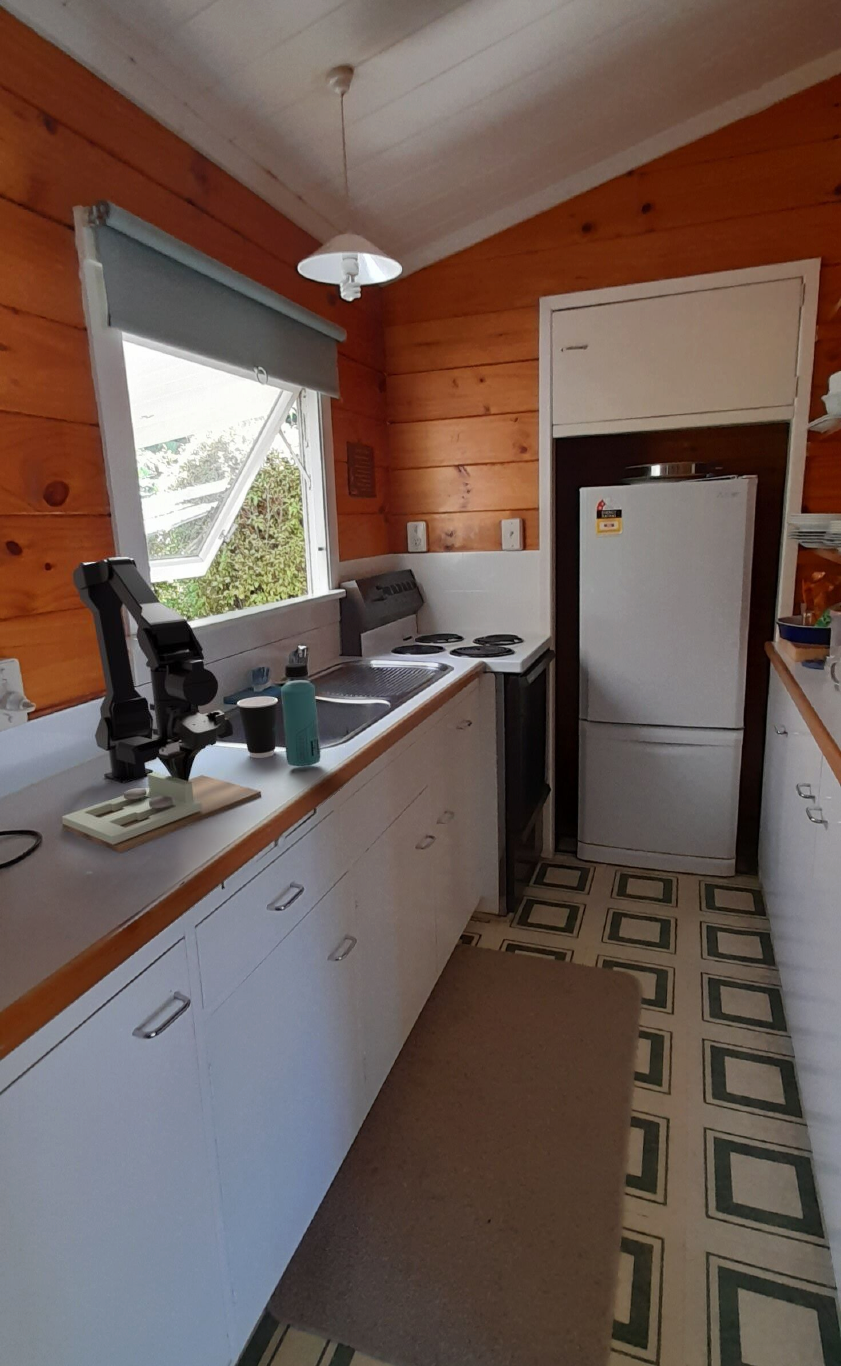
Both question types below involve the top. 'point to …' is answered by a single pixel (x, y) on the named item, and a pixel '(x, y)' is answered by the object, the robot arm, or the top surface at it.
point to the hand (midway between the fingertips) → (182, 788)
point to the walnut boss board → (213, 801)
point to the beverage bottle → (300, 718)
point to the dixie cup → (259, 725)
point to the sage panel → (136, 811)
